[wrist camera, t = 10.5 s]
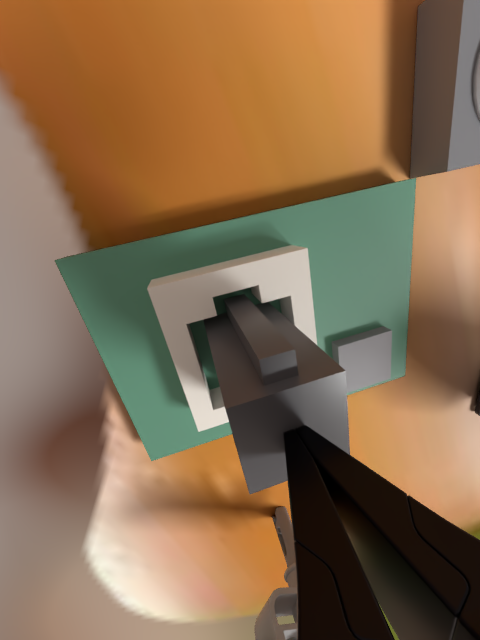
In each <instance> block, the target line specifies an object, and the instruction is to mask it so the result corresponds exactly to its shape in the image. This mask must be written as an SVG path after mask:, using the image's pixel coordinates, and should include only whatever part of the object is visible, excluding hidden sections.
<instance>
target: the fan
mask: <svg viewBox="0 0 480 640" xmlns="http://www.w3.org/2000/svg"><path fill="white" fill-rule="evenodd" d="M478 164H480V0H425V1H424V2H423V3H422V4H420V5H419V6H418V18H417V39H416V60H415V81H414V103H413V124H412V145H411V166H410V179H411V178H416V177H421V176H426V175H432V174H437V173H442V172H447V171H451V170H456V169H460V168H465V167H469V166H473V165H478Z"/></svg>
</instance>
